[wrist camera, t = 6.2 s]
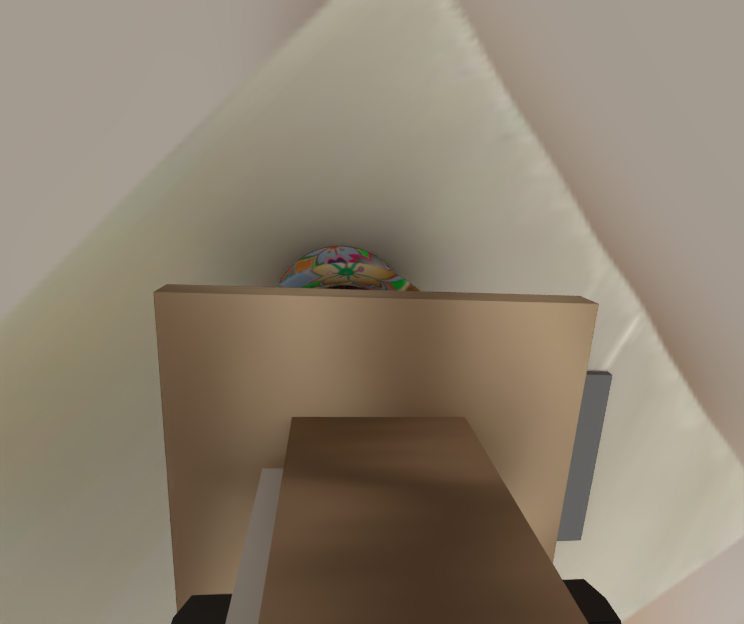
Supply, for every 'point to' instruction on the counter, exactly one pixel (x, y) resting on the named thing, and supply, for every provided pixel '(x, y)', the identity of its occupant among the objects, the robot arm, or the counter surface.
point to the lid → (374, 448)
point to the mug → (343, 271)
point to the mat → (584, 455)
